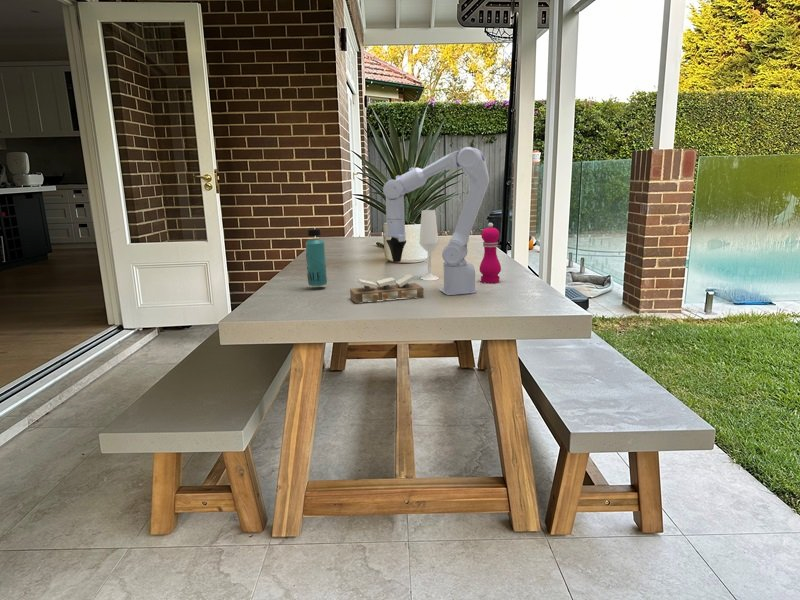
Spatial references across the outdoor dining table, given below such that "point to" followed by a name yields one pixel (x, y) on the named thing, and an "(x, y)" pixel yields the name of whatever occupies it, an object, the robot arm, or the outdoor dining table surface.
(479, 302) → the outdoor dining table surface
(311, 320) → the outdoor dining table surface
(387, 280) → the switch
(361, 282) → the switch
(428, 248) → the champagne flute
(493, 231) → the pepper mill
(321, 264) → the beverage bottle
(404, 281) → the switch
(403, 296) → the switch unit
